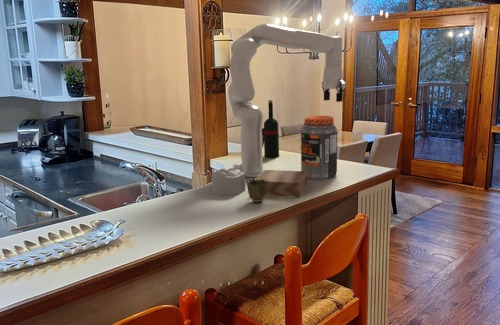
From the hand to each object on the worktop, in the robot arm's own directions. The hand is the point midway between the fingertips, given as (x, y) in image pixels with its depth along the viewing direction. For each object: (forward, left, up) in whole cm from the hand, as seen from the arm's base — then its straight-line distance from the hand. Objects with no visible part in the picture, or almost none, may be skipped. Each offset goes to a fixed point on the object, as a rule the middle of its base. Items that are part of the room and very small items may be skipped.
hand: (332, 100), depth 216 cm
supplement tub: (-3, -22, -31) cm, 38 cm away
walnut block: (-14, -47, -31) cm, 58 cm away
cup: (-19, -65, -31) cm, 75 cm away
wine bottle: (-35, +14, -31) cm, 49 cm away
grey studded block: (-35, -53, -31) cm, 71 cm away
